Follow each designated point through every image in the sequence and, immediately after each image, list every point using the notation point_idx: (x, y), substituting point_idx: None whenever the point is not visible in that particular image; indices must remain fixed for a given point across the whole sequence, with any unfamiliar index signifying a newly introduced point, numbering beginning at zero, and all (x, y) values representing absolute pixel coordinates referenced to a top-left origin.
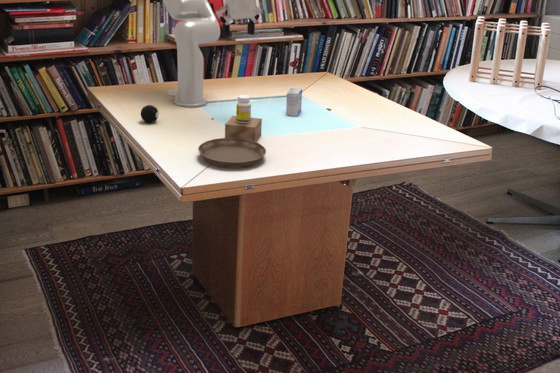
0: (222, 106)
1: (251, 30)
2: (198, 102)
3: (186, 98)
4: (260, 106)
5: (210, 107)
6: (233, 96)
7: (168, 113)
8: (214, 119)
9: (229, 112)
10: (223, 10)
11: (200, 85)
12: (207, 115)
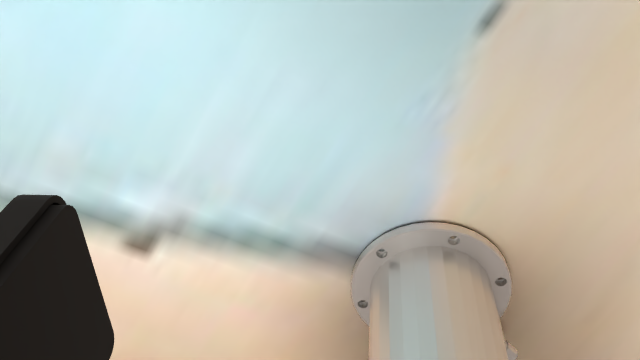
0: (318, 183)
1: (32, 284)
2: (421, 247)
3: (481, 277)
4: (129, 107)
5: (382, 193)
6: (193, 284)
7: (631, 194)
8: (487, 5)
9: (337, 83)
10: None
11: (411, 310)
12: (477, 86)
